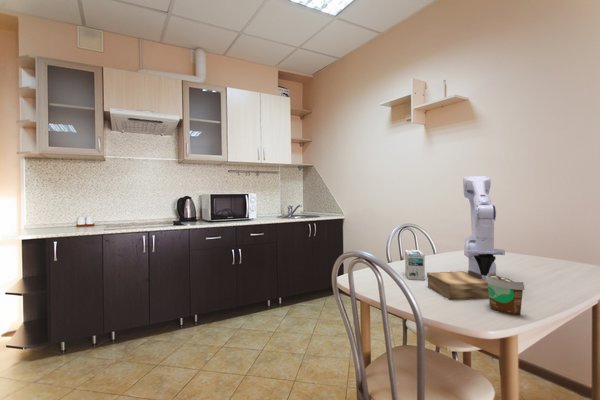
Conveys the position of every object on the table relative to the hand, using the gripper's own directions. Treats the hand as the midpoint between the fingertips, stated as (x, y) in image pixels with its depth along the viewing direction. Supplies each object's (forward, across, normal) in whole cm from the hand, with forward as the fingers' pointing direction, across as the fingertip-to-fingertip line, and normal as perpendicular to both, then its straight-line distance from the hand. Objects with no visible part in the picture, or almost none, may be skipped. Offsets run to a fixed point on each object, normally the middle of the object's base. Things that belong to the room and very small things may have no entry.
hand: (484, 275), depth 112 cm
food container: (+6, -8, -17) cm, 20 cm away
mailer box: (+6, -10, 0) cm, 12 cm away
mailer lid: (+2, -10, 0) cm, 11 cm away
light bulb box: (+6, -16, +22) cm, 28 cm away
